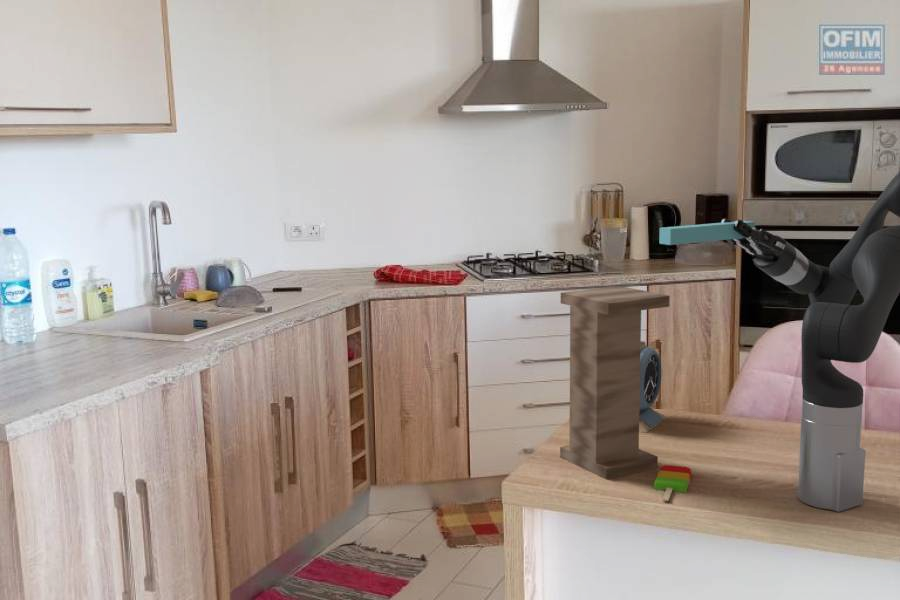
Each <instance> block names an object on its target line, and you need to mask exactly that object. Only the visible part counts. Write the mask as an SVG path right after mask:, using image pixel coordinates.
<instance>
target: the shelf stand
mask: <svg viewBox="0 0 900 600" xmlns="http://www.w3.org/2000/svg"><path fill="white" fill-rule="evenodd" d="M560 304H563V305H566V306H569V311H570V312H569V313H570V314H569V318H570V319H569V444H568V445H562V446H560V447H559V457H560V458H561V459H562V460H566V461H567V462H570V463H572V464H574V465H576V466H577V467H580V468H582V469H585V470H586V471H588V472H590V473H593V474H595V475H597V476H598V477H601V478H603V479H605V480H609V479H612V478H616V477H617V478H618V477H622V476H625V475H630V474H633V473H638V472H642V471H647V470H651V469H654V468H659V467H658V466H659V465H658V463H659V462H658V460H659V459H658V458H659V457H658V456H657V455H655V454H653V453H650V452H649V451H646V450H643V449H641V448H640V447H639V446H640V445H639V444H640V443H639V442H640V432H639V404H640V347H641V341H642V340H641V339H642V332H641V329H642V311H648V310H655V309H662V308H669V307H670V295H668V294H664V293H663V294H662V293H658V292H652V291H648V290H647V291H646V290H641V289H637V288H633V287H627V286H621V285H615V286H608V287H607V286H606V287H600V288H599V287H598V288H589V289H581V290H573V291H572V290H571V291H564V292H563V291H562V292H560Z"/></svg>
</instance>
